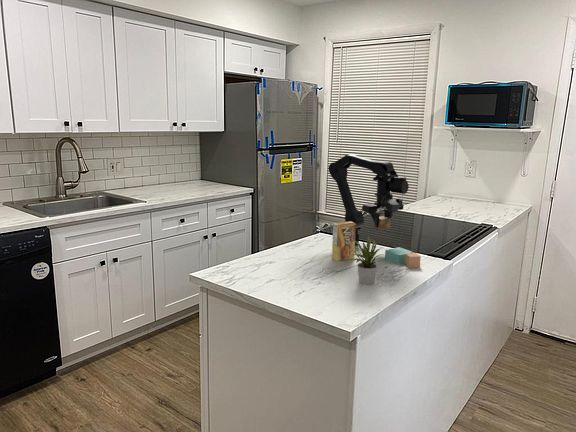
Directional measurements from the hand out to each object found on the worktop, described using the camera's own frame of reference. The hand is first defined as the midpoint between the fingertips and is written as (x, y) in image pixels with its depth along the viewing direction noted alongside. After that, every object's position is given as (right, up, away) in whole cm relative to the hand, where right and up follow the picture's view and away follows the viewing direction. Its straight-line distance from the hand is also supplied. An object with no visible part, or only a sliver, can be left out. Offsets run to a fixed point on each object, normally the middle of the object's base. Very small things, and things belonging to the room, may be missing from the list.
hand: (381, 226), depth 193 cm
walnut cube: (0, -1, 0) cm, 1 cm away
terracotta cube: (+9, -15, -17) cm, 24 cm away
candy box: (-18, -13, -9) cm, 24 cm away
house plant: (-13, -19, -33) cm, 40 cm away
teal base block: (+5, -14, -10) cm, 18 cm away
